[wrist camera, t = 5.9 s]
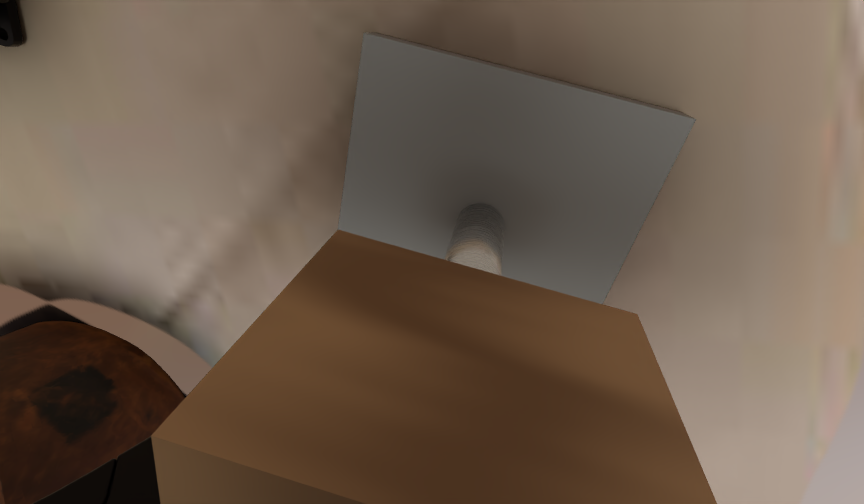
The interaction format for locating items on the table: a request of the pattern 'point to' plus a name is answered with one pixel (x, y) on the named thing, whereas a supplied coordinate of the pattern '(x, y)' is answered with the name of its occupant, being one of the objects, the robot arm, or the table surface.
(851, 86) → the table surface
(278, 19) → the table surface
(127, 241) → the table surface
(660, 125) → the post stand
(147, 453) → the robot arm
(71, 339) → the brown pot
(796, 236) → the table surface
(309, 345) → the wooden hollow block
